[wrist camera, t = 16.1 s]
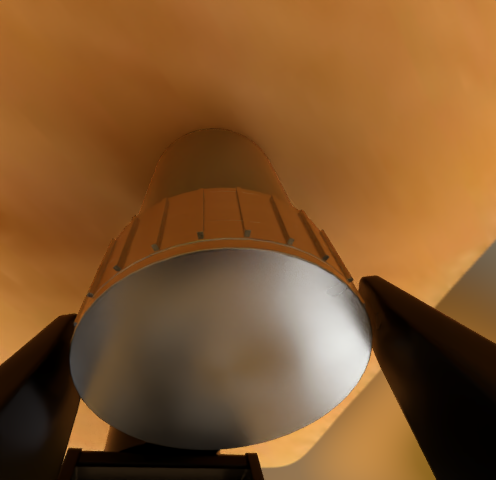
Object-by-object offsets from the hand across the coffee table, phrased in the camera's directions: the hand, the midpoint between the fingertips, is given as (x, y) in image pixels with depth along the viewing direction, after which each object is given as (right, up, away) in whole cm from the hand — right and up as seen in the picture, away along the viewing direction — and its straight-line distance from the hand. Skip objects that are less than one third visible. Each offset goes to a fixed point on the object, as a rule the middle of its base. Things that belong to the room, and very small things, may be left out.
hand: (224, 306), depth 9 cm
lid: (0, 0, +1) cm, 1 cm away
